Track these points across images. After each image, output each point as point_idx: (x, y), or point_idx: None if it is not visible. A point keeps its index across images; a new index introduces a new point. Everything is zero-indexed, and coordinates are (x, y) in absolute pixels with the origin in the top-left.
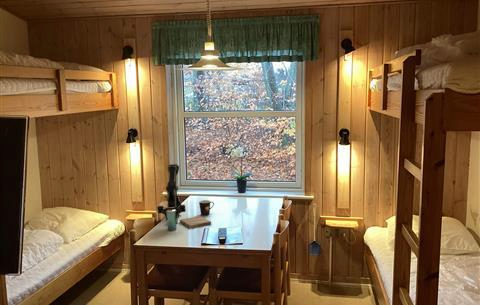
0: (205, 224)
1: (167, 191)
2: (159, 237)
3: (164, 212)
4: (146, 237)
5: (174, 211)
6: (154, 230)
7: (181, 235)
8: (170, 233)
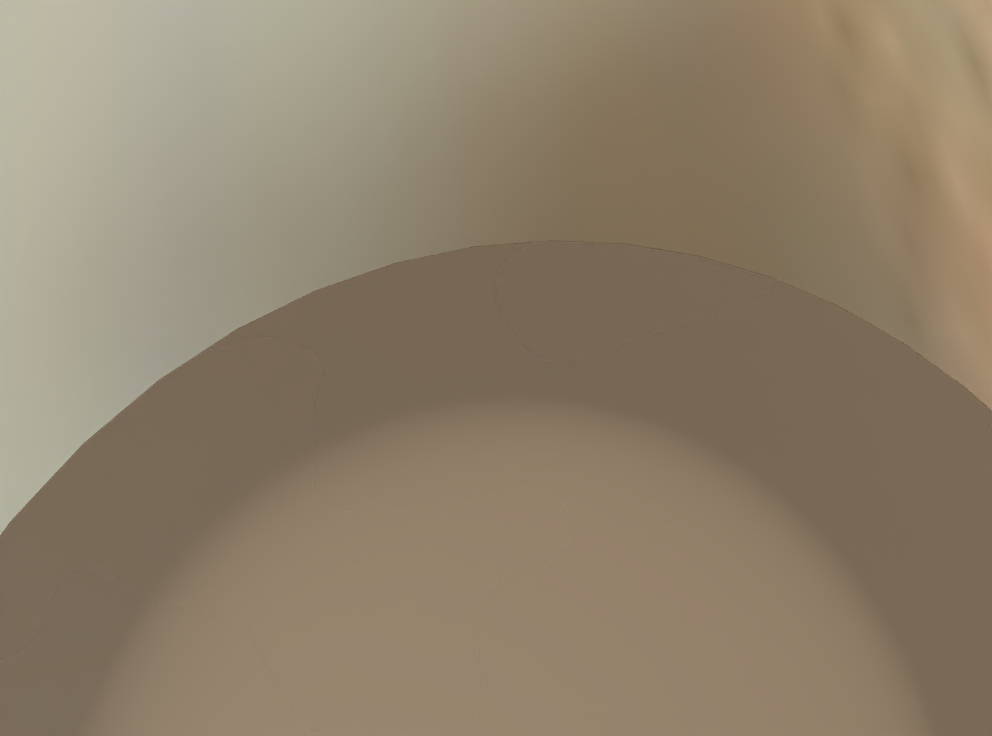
0: None
1: None
2: (652, 23)
3: None
4: (953, 101)
5: (88, 491)
6: None
7: (50, 22)
8: None
